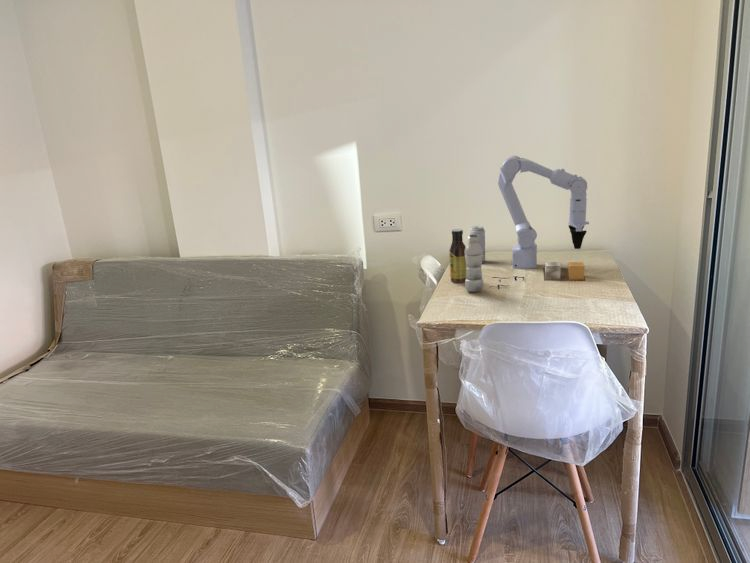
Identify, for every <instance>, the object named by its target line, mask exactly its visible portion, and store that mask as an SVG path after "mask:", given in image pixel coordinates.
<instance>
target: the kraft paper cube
mask: <svg viewBox="0 0 750 563" xmlns="http://www.w3.org/2000/svg"><path fill="white" fill-rule="evenodd" d="M567 263H568V267H567V268H568V277H569V279H575V280H584V277H585V264H584V261H578V262H576V261H575V262H571V261H570V262H569V261H568V262H567Z"/></svg>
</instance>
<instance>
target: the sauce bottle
mask: <svg viewBox="0 0 750 563" xmlns="http://www.w3.org/2000/svg"><path fill="white" fill-rule="evenodd" d="M451 235H452V236H451V237H452V238H451V239H452V240H451V245H450V248H449V252H448V254H449V277H450V281H451V282H452V283H465V280H466V259H465V253H464V251H465V248H466V245H465V243H464V241H463V239H464V238H463V235H464V230H463V229H462V228H454V229H452V230H451Z"/></svg>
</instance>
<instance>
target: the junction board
mask: <svg viewBox="0 0 750 563" xmlns="http://www.w3.org/2000/svg"><path fill="white" fill-rule="evenodd" d="M542 271H543V280H544V281H550V282H551V281H552V282H554V281H555V282H556V281H557V282H565V281H566V282H586V278H585V276H584V280H575V279H569V277H568V267H561V263H560V262H559V261H557V262H556V261H555V262H554V261H552V262H551V261H549V262H547V261H546V262H545V266H544V267H543V268H542Z"/></svg>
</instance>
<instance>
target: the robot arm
mask: <svg viewBox="0 0 750 563" xmlns="http://www.w3.org/2000/svg"><path fill="white" fill-rule="evenodd" d="M526 172H527V173H528V172H530V173H533V174H536V175H537V176H541V177H544V178H547V179H549V181H550V184H552V185H553V186H554V185H555V186H557V187H559V188H562V189H564V190H566V191H568V190H569V191H570V198H569V221H568V228H569V232H570V234H571V235H570V236H571V240H572V244H573V248H574V250H581V248H582V244H583V241H584V238H585V235H586V234H587V230H584V229H585V228H584V227H585V226H586V225H589V224H590V222H589V221H586V220H587V218H586V216H587V195H588V194H587V190H588V181H587V180H586V179H585V178H584V177H582V176H578V174H572V173H570V172H567V171H566V169H564V168H557V169H554V170H552V169H550V168H549V167H546V166H544V165H541V164H539V163H537V162H534V161H532V160H530V159H527V158H524V157H520V156H518V155H512V156H510V157H508V158H507V159H505V160H504V162H503V163H502V165H501V166H500V167H499V176H498V182H497V185H498V188H499V191H500V193H501V195H502V198H503V200H504V202H505V205H506V206H507V209H508V212H509V214H510V217H511V218H512V222H513V224H514V226H515V232H516V234H517V243H518V244H517V246H513V247H512V260H511V265H512V269H524V270H525V269H527V270H528V269H530V270H531V269H534V268H537V265H538V264H537V261H538V260H537V259H538V257H537V254H538V252H537V250H538V248H537V247H538V245H537V244H536V242H535V241H536V240H537V235H538V233H537V231H536V230H535V229H534V228H533V227H532V225H531V223H530V222H529V220H528V219H527V217H526V214H525V211H524V209H523V206H522V204H521V202H520V200H519V197H518V195H517V192H516V190H515V187H514V185H513V181H515V180H514V179H515V178H516V175H517V174H518V173H526Z"/></svg>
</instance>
